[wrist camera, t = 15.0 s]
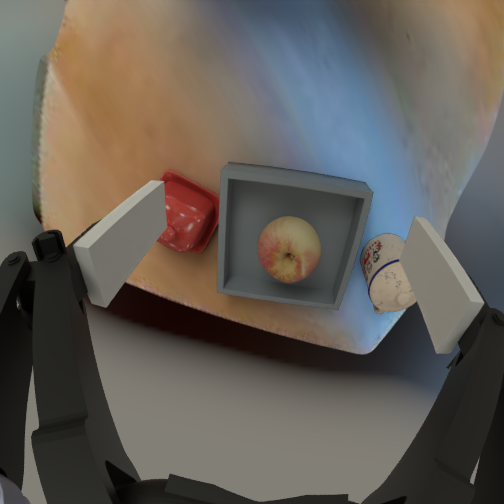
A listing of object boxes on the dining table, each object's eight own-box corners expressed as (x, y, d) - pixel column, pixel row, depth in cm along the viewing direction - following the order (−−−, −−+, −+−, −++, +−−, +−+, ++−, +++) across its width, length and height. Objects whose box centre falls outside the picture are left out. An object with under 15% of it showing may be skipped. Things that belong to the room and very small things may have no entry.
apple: (293, 269, 46) (292, 300, 39) (249, 237, 44) (240, 265, 37) (330, 232, 42) (336, 260, 35) (285, 196, 40) (283, 218, 33)
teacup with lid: (367, 226, 42) (386, 267, 32) (415, 236, 41) (443, 276, 31) (347, 287, 48) (356, 336, 38) (392, 293, 47) (408, 339, 37)
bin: (223, 275, 50) (217, 292, 46) (229, 162, 40) (220, 170, 36) (335, 291, 49) (338, 310, 44) (365, 182, 38) (373, 193, 34)
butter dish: (232, 198, 43) (218, 221, 36) (202, 253, 49) (186, 282, 42) (168, 164, 42) (142, 180, 34) (146, 222, 47) (121, 245, 40)
